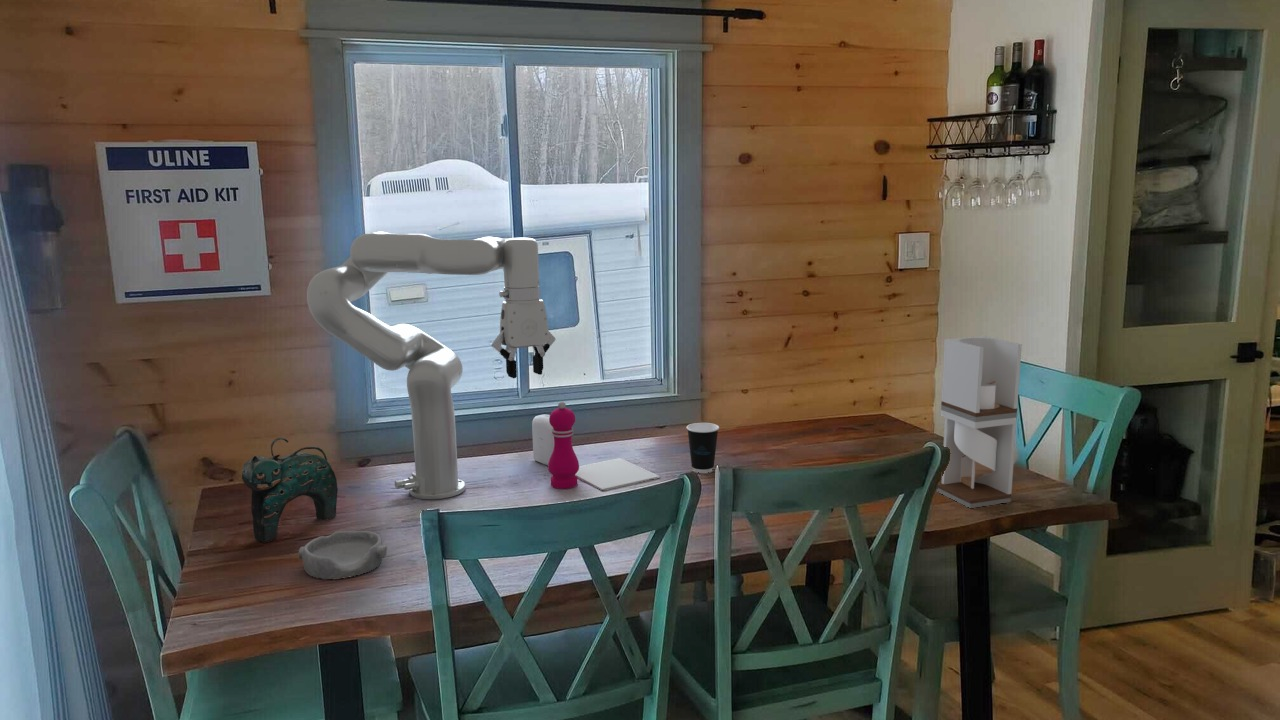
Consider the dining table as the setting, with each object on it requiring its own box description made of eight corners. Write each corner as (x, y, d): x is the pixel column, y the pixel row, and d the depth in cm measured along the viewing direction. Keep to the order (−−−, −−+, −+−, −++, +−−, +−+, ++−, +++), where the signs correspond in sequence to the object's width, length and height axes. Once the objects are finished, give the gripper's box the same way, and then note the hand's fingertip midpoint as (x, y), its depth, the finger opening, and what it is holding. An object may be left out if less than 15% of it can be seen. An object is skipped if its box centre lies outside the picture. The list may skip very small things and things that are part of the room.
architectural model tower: (936, 492, 207) (944, 339, 200) (975, 486, 211) (984, 335, 204) (970, 509, 197) (979, 347, 190) (1010, 502, 200) (1021, 344, 193)
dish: (397, 565, 172) (395, 540, 171) (329, 590, 162) (327, 563, 161) (355, 545, 181) (353, 521, 180) (288, 568, 171) (286, 543, 170)
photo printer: (530, 460, 235) (529, 413, 232) (545, 456, 237) (543, 410, 235) (553, 469, 227) (552, 421, 224) (567, 466, 229) (566, 418, 227)
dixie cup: (696, 477, 220) (696, 432, 218) (680, 468, 227) (680, 425, 224) (725, 472, 223) (725, 428, 221) (708, 463, 230) (708, 420, 228)
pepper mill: (575, 490, 211) (573, 405, 207) (545, 489, 212) (542, 405, 209) (582, 480, 218) (580, 398, 214) (552, 479, 219) (550, 397, 216)
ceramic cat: (260, 547, 181) (250, 449, 177) (241, 540, 184) (231, 444, 180) (344, 517, 197) (337, 426, 193) (325, 511, 200) (318, 422, 196)
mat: (602, 491, 211) (602, 489, 211) (564, 471, 225) (564, 469, 225) (659, 478, 219) (659, 476, 219) (619, 459, 234) (619, 457, 234)
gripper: (493, 299, 194) (496, 383, 198) (565, 293, 203) (567, 373, 207) (478, 296, 200) (482, 377, 204) (549, 290, 209) (551, 368, 213)
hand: (525, 374), depth 205 cm, fingers open, 5 cm apart
